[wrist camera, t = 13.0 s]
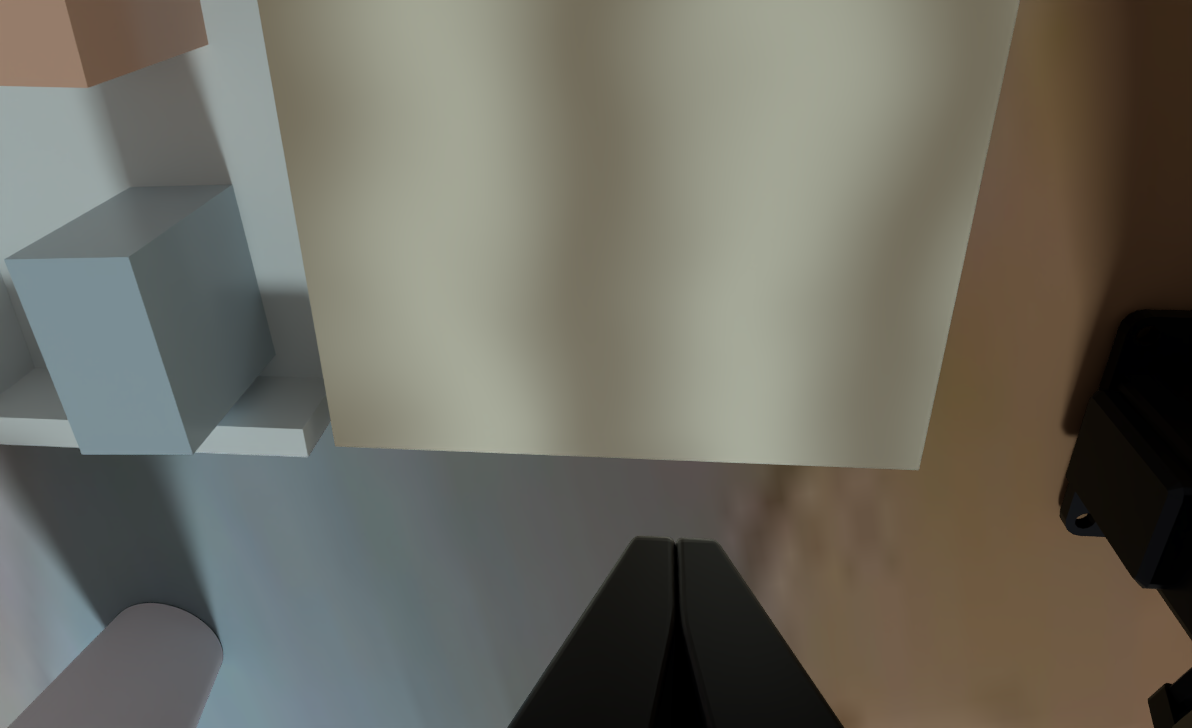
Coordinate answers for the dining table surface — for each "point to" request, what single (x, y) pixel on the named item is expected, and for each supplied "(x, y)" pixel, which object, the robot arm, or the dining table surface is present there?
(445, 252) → the board
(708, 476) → the dining table surface
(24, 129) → the tray
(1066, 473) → the robot arm
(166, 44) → the tile front
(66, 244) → the tile back
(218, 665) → the smoothie
